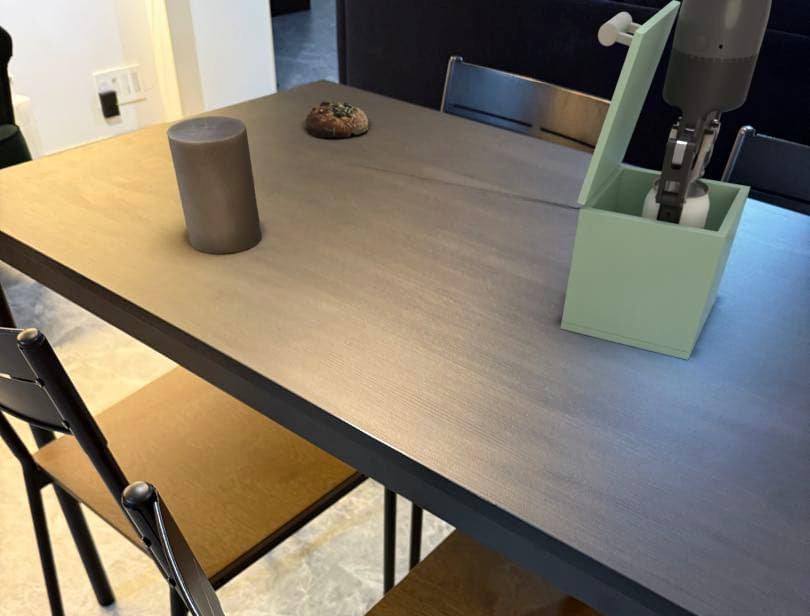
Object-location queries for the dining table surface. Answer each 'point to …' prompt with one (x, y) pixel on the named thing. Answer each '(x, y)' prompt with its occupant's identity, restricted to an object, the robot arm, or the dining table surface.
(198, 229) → the pillar candle
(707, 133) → the robot arm
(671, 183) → the can
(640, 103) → the lid
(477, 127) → the dining table surface
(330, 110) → the bread roll
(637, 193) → the box
